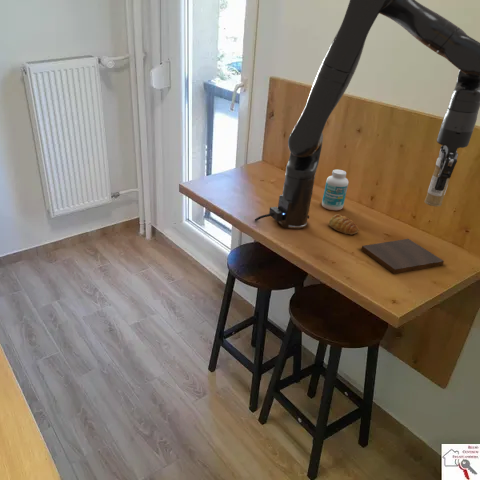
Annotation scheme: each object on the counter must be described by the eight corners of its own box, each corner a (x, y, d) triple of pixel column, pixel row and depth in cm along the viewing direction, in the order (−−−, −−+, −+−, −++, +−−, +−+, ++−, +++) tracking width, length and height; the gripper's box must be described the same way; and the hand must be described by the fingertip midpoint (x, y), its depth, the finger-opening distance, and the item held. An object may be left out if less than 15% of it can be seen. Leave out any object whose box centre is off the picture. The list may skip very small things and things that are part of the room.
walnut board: (393, 273, 131) (394, 269, 130) (361, 250, 143) (362, 245, 142) (442, 265, 136) (444, 260, 135) (407, 242, 147) (408, 238, 147)
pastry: (362, 232, 153) (365, 222, 151) (348, 237, 150) (351, 227, 148) (339, 221, 160) (341, 211, 158) (325, 226, 157) (327, 216, 155)
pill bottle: (320, 209, 169) (327, 173, 163) (322, 201, 175) (329, 166, 169) (342, 212, 167) (350, 176, 160) (343, 204, 173) (351, 169, 166)
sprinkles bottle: (444, 205, 135) (459, 160, 129) (435, 208, 133) (451, 162, 127) (428, 199, 139) (443, 155, 132) (420, 202, 136) (434, 158, 130)
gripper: (438, 119, 132) (421, 176, 140) (444, 131, 121) (424, 193, 129) (469, 122, 130) (449, 180, 138) (477, 135, 118) (455, 198, 126)
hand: (437, 186), depth 133 cm, fingers closed on sprinkles bottle, 4 cm apart
